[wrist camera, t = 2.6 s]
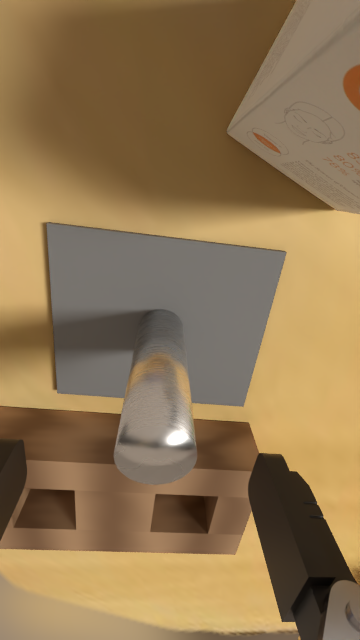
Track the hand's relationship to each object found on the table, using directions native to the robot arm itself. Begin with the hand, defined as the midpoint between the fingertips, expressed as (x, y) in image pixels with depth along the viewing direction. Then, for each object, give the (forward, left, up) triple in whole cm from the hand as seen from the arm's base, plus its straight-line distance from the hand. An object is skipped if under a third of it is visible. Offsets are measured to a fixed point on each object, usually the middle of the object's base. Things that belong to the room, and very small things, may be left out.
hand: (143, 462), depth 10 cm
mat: (0, 0, -11) cm, 11 cm away
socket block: (+2, +13, -11) cm, 17 cm away
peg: (0, 0, -10) cm, 10 cm away
